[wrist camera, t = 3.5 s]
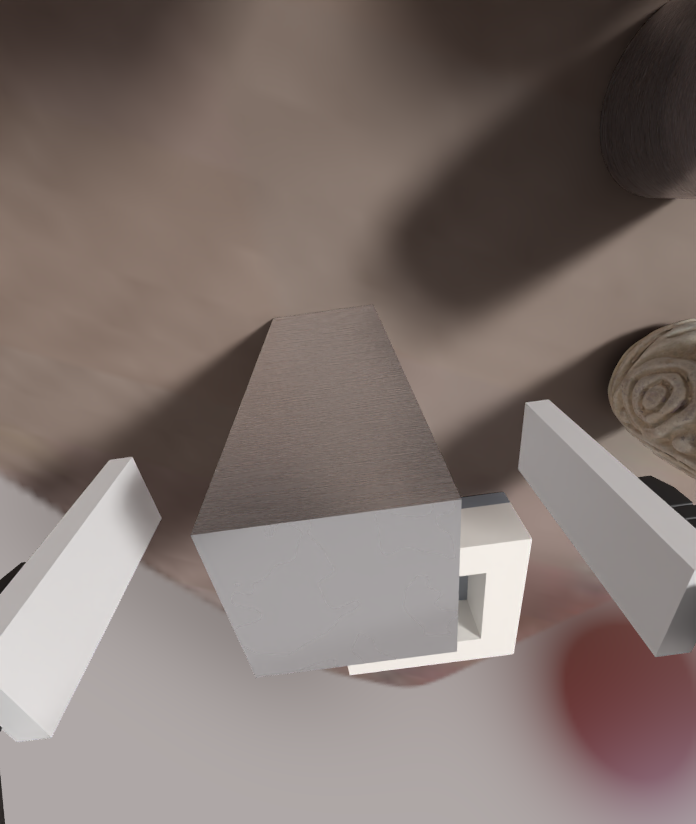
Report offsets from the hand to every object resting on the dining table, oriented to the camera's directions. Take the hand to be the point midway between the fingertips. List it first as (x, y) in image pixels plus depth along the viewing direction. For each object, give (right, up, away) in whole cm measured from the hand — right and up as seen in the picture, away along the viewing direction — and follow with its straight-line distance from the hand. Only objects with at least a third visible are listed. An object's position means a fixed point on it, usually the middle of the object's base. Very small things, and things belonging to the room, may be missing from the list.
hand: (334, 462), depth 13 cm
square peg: (0, +5, +7) cm, 9 cm away
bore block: (+6, -10, +16) cm, 19 cm away
